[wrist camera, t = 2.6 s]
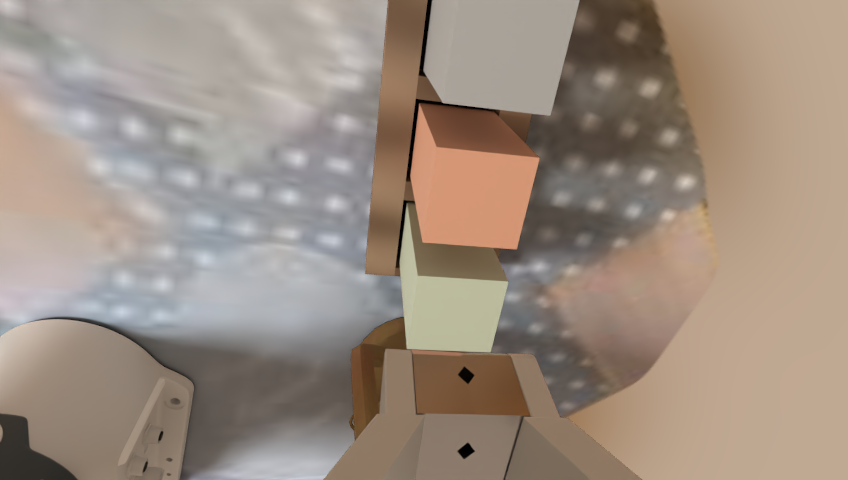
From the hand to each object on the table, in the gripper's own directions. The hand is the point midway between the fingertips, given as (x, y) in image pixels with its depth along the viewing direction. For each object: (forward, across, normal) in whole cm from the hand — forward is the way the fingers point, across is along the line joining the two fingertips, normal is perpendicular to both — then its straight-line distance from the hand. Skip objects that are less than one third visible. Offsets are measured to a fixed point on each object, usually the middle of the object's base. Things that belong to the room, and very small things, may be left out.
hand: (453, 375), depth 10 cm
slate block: (+24, -3, -5) cm, 25 cm away
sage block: (+24, -3, +9) cm, 26 cm away
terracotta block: (+24, -3, +2) cm, 24 cm away
